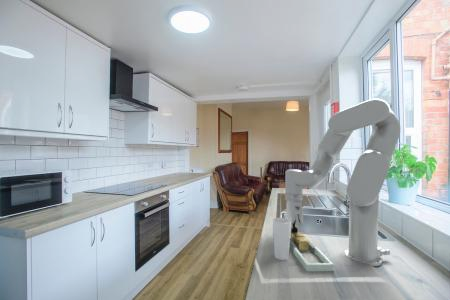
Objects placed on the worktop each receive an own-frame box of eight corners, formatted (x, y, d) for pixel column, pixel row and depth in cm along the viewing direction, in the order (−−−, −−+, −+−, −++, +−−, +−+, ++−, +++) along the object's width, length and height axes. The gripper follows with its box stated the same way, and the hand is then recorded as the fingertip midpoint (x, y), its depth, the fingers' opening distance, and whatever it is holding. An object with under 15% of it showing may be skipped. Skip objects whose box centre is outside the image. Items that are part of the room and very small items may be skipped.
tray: (316, 255, 90) (317, 247, 89) (334, 274, 77) (334, 264, 77) (293, 256, 89) (293, 247, 89) (306, 274, 76) (306, 264, 76)
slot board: (304, 242, 102) (304, 235, 101) (315, 255, 90) (315, 247, 89) (285, 243, 101) (285, 235, 101) (294, 256, 89) (294, 248, 89)
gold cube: (300, 241, 100) (300, 232, 100) (303, 245, 96) (304, 236, 96) (291, 241, 100) (291, 232, 100) (294, 245, 96) (294, 236, 96)
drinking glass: (291, 264, 82) (291, 224, 82) (272, 262, 84) (272, 222, 84) (289, 256, 89) (290, 218, 89) (272, 254, 90) (272, 217, 90)
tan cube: (304, 246, 95) (305, 237, 95) (308, 251, 91) (308, 241, 91) (295, 246, 95) (295, 237, 95) (298, 251, 91) (299, 241, 91)
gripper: (308, 200, 96) (308, 243, 96) (296, 193, 111) (296, 230, 111) (290, 200, 96) (290, 243, 96) (281, 193, 111) (280, 230, 111)
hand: (293, 236), depth 104 cm, fingers closed
